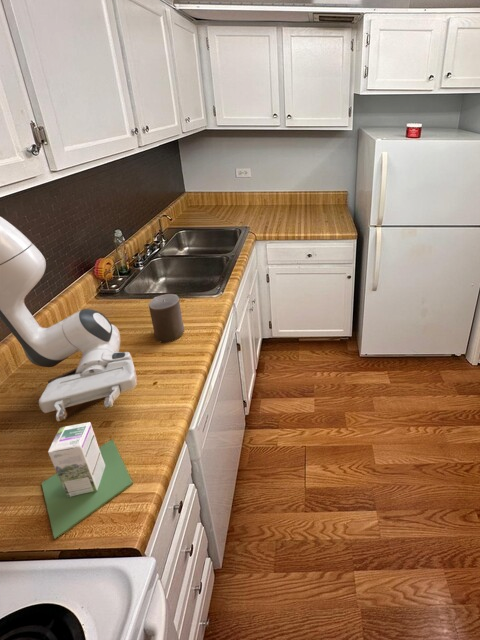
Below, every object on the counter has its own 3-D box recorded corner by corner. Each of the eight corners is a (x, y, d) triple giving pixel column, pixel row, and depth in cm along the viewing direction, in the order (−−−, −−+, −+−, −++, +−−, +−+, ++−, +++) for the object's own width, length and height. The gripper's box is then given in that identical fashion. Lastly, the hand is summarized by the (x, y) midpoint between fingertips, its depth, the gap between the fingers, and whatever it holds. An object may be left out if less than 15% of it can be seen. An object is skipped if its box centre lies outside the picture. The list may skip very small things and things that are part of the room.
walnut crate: (61, 421, 86) (57, 410, 85) (51, 391, 95) (47, 380, 94) (118, 391, 95) (115, 380, 94) (104, 366, 104) (101, 356, 103)
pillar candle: (169, 345, 113) (162, 308, 108) (149, 338, 117) (141, 301, 111) (190, 329, 121) (184, 293, 116) (170, 322, 125) (163, 287, 119)
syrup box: (106, 465, 75) (91, 419, 70) (97, 492, 70) (79, 445, 65) (78, 471, 74) (60, 425, 69) (66, 500, 69) (46, 452, 64)
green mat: (54, 540, 63) (53, 538, 63) (42, 484, 72) (41, 482, 72) (133, 483, 72) (132, 482, 72) (113, 440, 81) (112, 439, 81)
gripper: (45, 371, 84) (25, 416, 72) (136, 350, 91) (131, 388, 79) (52, 390, 86) (33, 437, 74) (140, 368, 93) (136, 407, 81)
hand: (84, 411), depth 77 cm, fingers open, 8 cm apart
